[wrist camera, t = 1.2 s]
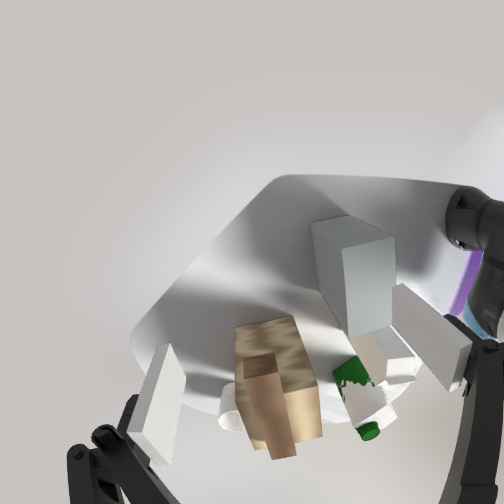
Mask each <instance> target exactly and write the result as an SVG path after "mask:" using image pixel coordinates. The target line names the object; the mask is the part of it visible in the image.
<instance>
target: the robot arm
mask: <svg viewBox="0 0 504 504" xmlns="http://www.w3.org/2000/svg"><path fill="white" fill-rule="evenodd" d="M446 230H447V234H448V237H449V239H450V241H451V243H452V244H453V245H454V246H455V247H457V248H459V249H462V250H465V251H480V250H482V251H484V254H483V257H482V260H481V263H480V266H479V269H478V272H477V275H476V277H475V280H474V283H473V285H472V288H471V290H470V293H469V294H468V295H467V300H466V303H465V306H464V308H463V318H464V321H465V322H466V324H467V325H468V327H466V325H465V324H464V323H462V322H461V321H460V320H459V319H458V318H457V317H455V316H452V315H450V314H446V315H444V316H442V315H441V314H440V313H439V312H437V311H436V310H435V309H434V308H433V307H431V306H430V305H429V304H428V303H426V302H425V301H424V300H423V299H422V298H420V297H419V296H418V295H417V294H415V293H414V292H413V291H412V290H410V289H409V288H408V287H407V286H405V285H404V284H403V283H402V284H399V285H396V286H393V287H392V326H393V327H394V328H395V329H396V331H397V332H398V333H399V334H400V335H401V336H402V337H403V338H404V340H405V341H406V342H407V343H408V344H409V345H410V347H411V348H412V349H413V350H414V351H415V352H416V354H417V355H418V356H419V357H420V358H421V359H422V361H423V362H424V363H425V364H426V365H427V366H428V368H429V369H430V370H431V371H432V373H433V374H434V375H435V376H436V377H437V379H438V380H439V381H440V382H441V384H442V385H443V386H444V387H445V388H446V390H447V391H448V392H451V391H452V390H454V389H456V388H458V387H459V386H461V383H462V380H463V377H464V378H465V379H466V381H467V384H466V387H465V390H464V393H463V395H462V396H463V397H464V396H465V398H464V405H463V412H462V418H461V424H460V429H459V434H458V439H457V444H456V448H455V452H454V456H453V461H452V464H451V468H450V471H449V474H448V478H447V481H446V484H445V487H444V490H443V493H442V496H441V499H440V502H439V504H495V502H496V498H497V493H498V486H497V485H496V484H495V477H496V472H497V466H498V460H499V453H500V445H501V436H502V424H503V400H504V202H502V201H498V200H493V199H491V198H490V197H489V196H487V195H486V194H485V193H483V192H482V191H481V190H479V189H477V188H474V187H469V186H465V187H462V188H460V189H459V190H457V191H456V192H455V194H454V195H453V197H452V198H451V200H450V203H449V205H448V209H447V214H446ZM479 336H481V338H480V337H479ZM483 339H484V340H483ZM498 341H501V342H502V343H498ZM186 378H187V377H186V375H185V373H184V371H183V369H182V367H181V365H180V363H179V361H178V359H177V357H176V355H175V353H174V351H173V348H172V346H171V344H170V343H166V344H160V345H158V347H157V349H156V352H155V354H154V357H153V359H152V362H151V365H150V367H149V370H148V373H147V375H146V378H145V381H144V383H143V386H142V389H141V392H140V394H136V395H132V396H131V398H130V399H129V400H128V401H127V403H126V406H125V410H124V411H123V414H122V417H121V419H120V422H119V424H118V427H117V430H116V429H115V428H114V427H113V426H112V425H109V424H105V425H102V426H99V427H98V428H97V429H95V430H94V432H93V433H92V436H91V439H92V442H93V443H94V444H95V445H96V446H97V447H98V448H95V449H90V450H89V449H88V448H87V447H86V446H85V445H84V444H76V445H74V446H72V447H71V448H70V449H69V451H68V452H67V471H68V484H69V495H70V504H125V503H124V500H123V496H122V492H121V489H122V490H123V492H124V494H125V495H126V497H127V498H128V500H129V502H130V503H131V504H180V503H179V502H178V500H177V499H176V498H175V497H174V496H173V495H172V493H171V492H170V491H169V490H168V489H167V488H166V486H165V485H164V484H163V482H162V481H161V480H160V479H159V477H158V476H157V475H156V473H155V472H154V471H153V469H152V468H151V467H150V466H149V463H150V459H151V460H152V461H153V463H154V464H155V465H169V466H170V465H171V461H172V454H173V448H174V443H175V437H176V431H177V426H178V420H179V414H180V409H181V404H182V399H183V394H184V389H185V383H186ZM120 487H121V489H120Z"/></svg>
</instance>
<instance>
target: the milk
mask: <svg viewBox="0 0 504 504" xmlns="http://www.w3.org/2000/svg"><path fill="white" fill-rule="evenodd" d="M343 332H344V331H343ZM344 334H345V332H344ZM345 335H346V334H345ZM346 337H347V335H346ZM347 339H348V340H349V342H350V344H351V345H352V347H353V349H354V350H355V352H356V354H357V355H358V357H359V359H360V360H361V362H362V364H363V366H364V367H365V369H366V371H367V372H368V374H369V376H370V377H371V379H372V381H373V383H374V384H375V386H383V385H390V386H392V385H399V384H405V383H411V382H416V381H417V380H416V379H415V377H414V376H413V375H414V365H415V356H414V355H413V353H412V352H411V351H410V350H409V349H408V347H407V346H406V345H405V344H404V343H403V342H402V340H401V339H400V338H399V337H398V336H397V335H396V333H395V332H394V331H393V330H392V329H391V328H390V326H387V327H384V328H381V329H378V330H374V331H371V332H368V333H365V334H362V335H358V336H355V337H352V338H348V337H347Z"/></svg>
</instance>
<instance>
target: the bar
mask: <svg viewBox="0 0 504 504" xmlns="http://www.w3.org/2000/svg"><path fill="white" fill-rule="evenodd" d="M243 370H244V381H245V384H246V387H247V390H248V393H249V396H250V399H251V402H252V405H253V408H254V411H255V414H256V417H257V420H258V422H259V425H260V428H261V431H262V434H263V437H264V439H265V442H266V445H267V448H268V450H269V453H270V456H271V458H272V460H275V459H281V458H286V457H291V456H296V455H297V454H296V449H295V445H294V440H293V435H292V430H291V426H290V421H289V417H288V412H287V407H286V403H285V398H284V394H283V389H282V385H281V380H280V375H279V371H278V366H277V362H276V357H275V353H274V352H272V353H267V354H263V355H258V356H252V357H247V358H243Z"/></svg>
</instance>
